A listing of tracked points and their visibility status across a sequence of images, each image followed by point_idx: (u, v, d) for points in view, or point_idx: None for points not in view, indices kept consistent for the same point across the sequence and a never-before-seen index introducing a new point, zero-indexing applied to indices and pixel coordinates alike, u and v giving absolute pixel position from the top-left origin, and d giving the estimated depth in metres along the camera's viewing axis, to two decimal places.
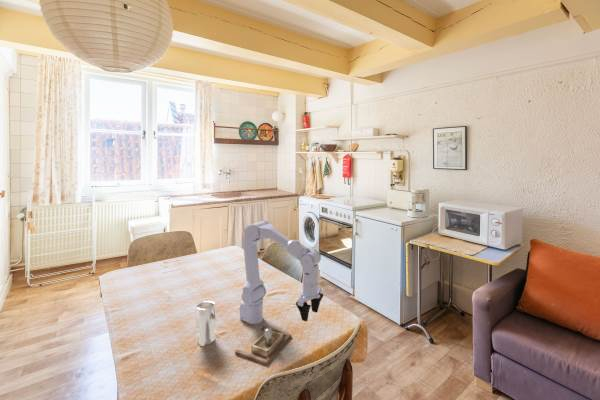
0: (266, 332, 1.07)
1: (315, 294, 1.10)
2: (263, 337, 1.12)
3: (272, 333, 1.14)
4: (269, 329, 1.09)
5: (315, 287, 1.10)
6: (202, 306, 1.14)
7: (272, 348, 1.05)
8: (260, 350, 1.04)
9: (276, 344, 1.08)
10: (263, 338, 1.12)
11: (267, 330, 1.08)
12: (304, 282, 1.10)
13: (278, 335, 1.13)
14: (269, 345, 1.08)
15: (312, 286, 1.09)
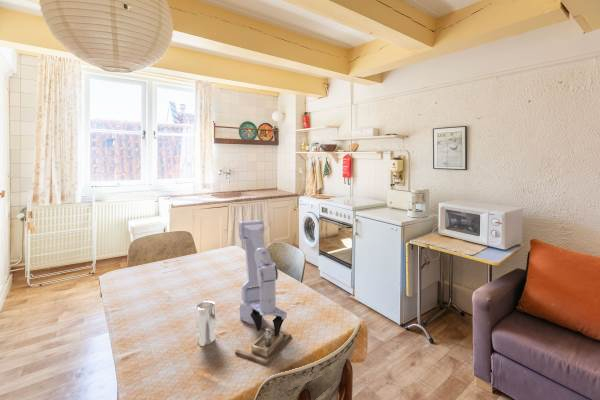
0: (266, 332, 1.07)
1: (262, 310, 1.05)
2: (263, 337, 1.12)
3: (272, 333, 1.14)
4: (269, 329, 1.09)
5: (261, 303, 1.05)
6: (202, 306, 1.14)
7: (272, 348, 1.05)
8: (260, 350, 1.04)
9: (276, 344, 1.08)
10: (263, 338, 1.12)
11: (267, 330, 1.08)
12: None
13: (278, 335, 1.13)
14: (269, 345, 1.08)
15: (260, 299, 1.06)
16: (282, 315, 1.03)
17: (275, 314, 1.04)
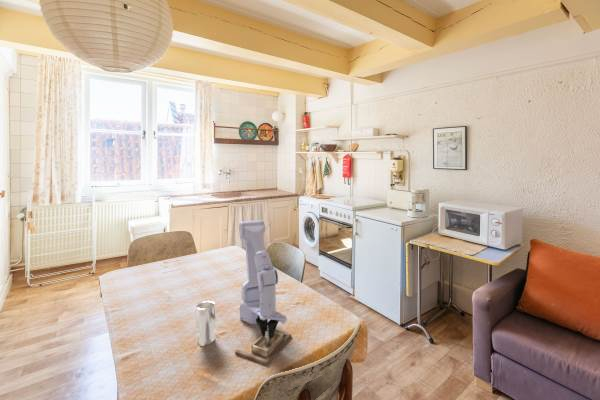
0: (266, 332, 1.07)
1: (262, 314, 1.05)
2: (263, 337, 1.12)
3: None
4: None
5: (261, 307, 1.05)
6: (202, 306, 1.14)
7: (272, 348, 1.05)
8: (260, 350, 1.04)
9: (276, 344, 1.08)
10: (263, 338, 1.12)
11: (267, 330, 1.08)
12: None
13: (278, 335, 1.13)
14: (269, 345, 1.08)
15: (260, 303, 1.06)
16: (282, 319, 1.04)
17: (275, 318, 1.04)
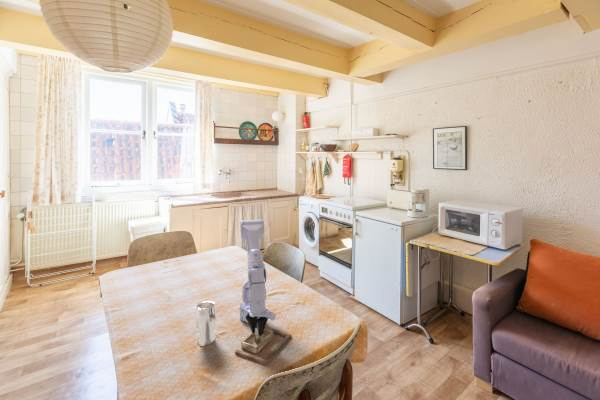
0: (256, 329, 1.09)
1: (251, 311, 1.07)
2: (253, 334, 1.14)
3: None
4: None
5: (251, 304, 1.07)
6: (202, 306, 1.14)
7: (261, 345, 1.07)
8: (250, 346, 1.06)
9: (266, 341, 1.10)
10: (253, 335, 1.14)
11: (257, 327, 1.10)
12: None
13: (268, 332, 1.15)
14: (259, 342, 1.10)
15: (249, 301, 1.08)
16: (271, 316, 1.06)
17: (264, 315, 1.06)
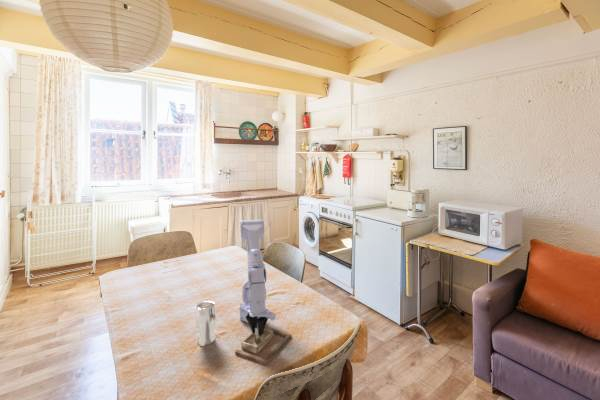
0: (256, 329, 1.09)
1: (251, 311, 1.07)
2: (253, 334, 1.14)
3: None
4: None
5: (251, 304, 1.07)
6: (202, 306, 1.14)
7: (261, 345, 1.07)
8: (250, 346, 1.06)
9: (266, 341, 1.10)
10: (253, 335, 1.14)
11: (257, 327, 1.10)
12: None
13: (268, 332, 1.15)
14: (259, 342, 1.10)
15: (249, 301, 1.08)
16: (271, 316, 1.06)
17: (264, 315, 1.06)
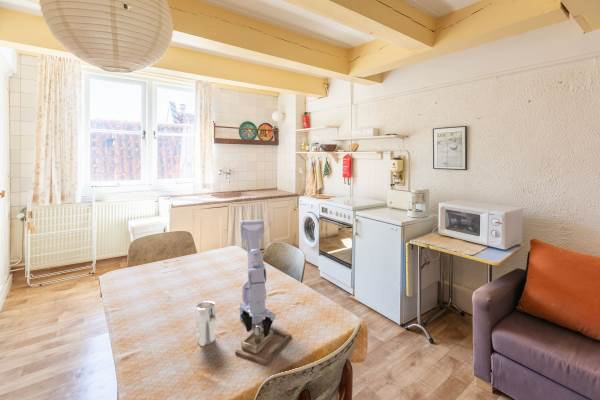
0: (256, 329, 1.09)
1: (251, 311, 1.07)
2: (253, 334, 1.14)
3: (262, 330, 1.16)
4: (259, 326, 1.10)
5: (251, 304, 1.07)
6: (202, 306, 1.14)
7: (261, 345, 1.07)
8: (250, 346, 1.06)
9: (266, 341, 1.10)
10: (253, 335, 1.14)
11: (257, 327, 1.10)
12: None
13: None
14: (259, 342, 1.10)
15: (249, 301, 1.08)
16: (271, 316, 1.06)
17: (264, 315, 1.06)
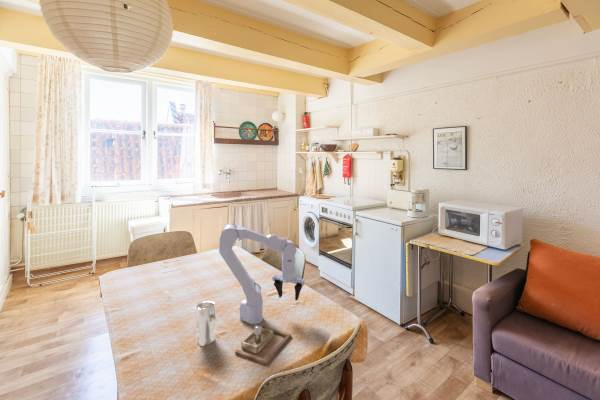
0: (256, 329, 1.09)
1: (284, 279, 1.25)
2: (253, 334, 1.14)
3: (262, 330, 1.16)
4: (259, 326, 1.10)
5: (284, 272, 1.25)
6: (202, 306, 1.14)
7: (261, 345, 1.07)
8: (250, 346, 1.06)
9: (266, 341, 1.10)
10: (253, 335, 1.14)
11: (257, 327, 1.10)
12: (286, 269, 1.24)
13: (268, 332, 1.15)
14: (259, 342, 1.10)
15: (282, 270, 1.26)
16: (302, 282, 1.24)
17: (296, 281, 1.25)
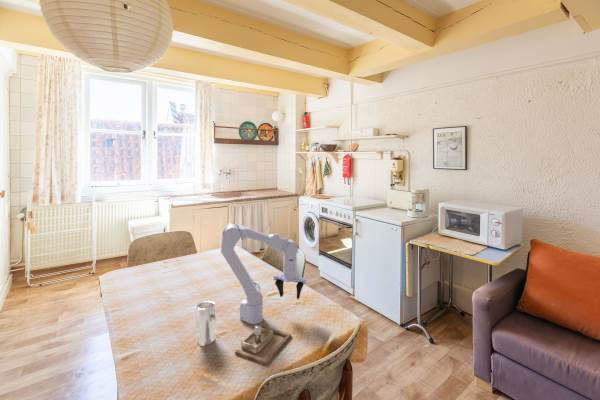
0: (256, 329, 1.09)
1: (286, 278, 1.26)
2: (253, 334, 1.14)
3: (262, 330, 1.16)
4: (259, 326, 1.10)
5: (286, 271, 1.26)
6: (202, 306, 1.14)
7: (261, 345, 1.07)
8: (250, 346, 1.06)
9: (266, 341, 1.10)
10: (253, 335, 1.14)
11: (257, 327, 1.10)
12: (288, 268, 1.25)
13: (268, 332, 1.15)
14: (259, 342, 1.10)
15: (284, 269, 1.27)
16: (304, 280, 1.26)
17: (298, 280, 1.26)
